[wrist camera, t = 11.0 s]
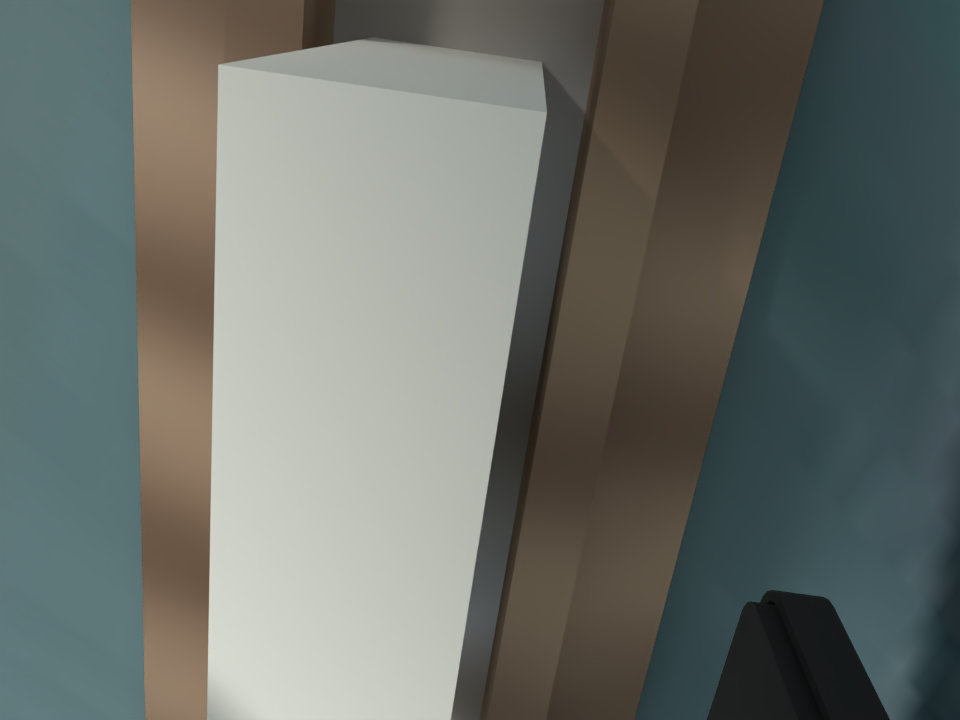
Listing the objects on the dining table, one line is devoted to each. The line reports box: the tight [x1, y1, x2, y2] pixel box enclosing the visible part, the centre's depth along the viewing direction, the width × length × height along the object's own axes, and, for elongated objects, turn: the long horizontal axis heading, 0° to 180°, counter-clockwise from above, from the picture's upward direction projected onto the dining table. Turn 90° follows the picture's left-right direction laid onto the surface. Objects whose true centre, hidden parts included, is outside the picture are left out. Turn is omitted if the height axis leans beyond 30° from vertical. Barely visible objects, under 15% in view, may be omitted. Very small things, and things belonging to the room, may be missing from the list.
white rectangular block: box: [207, 37, 547, 720], centre depth 14 cm, size 12×3×8 cm, turn 172°
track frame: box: [131, 0, 824, 720], centre depth 17 cm, size 26×12×3 cm, turn 172°
